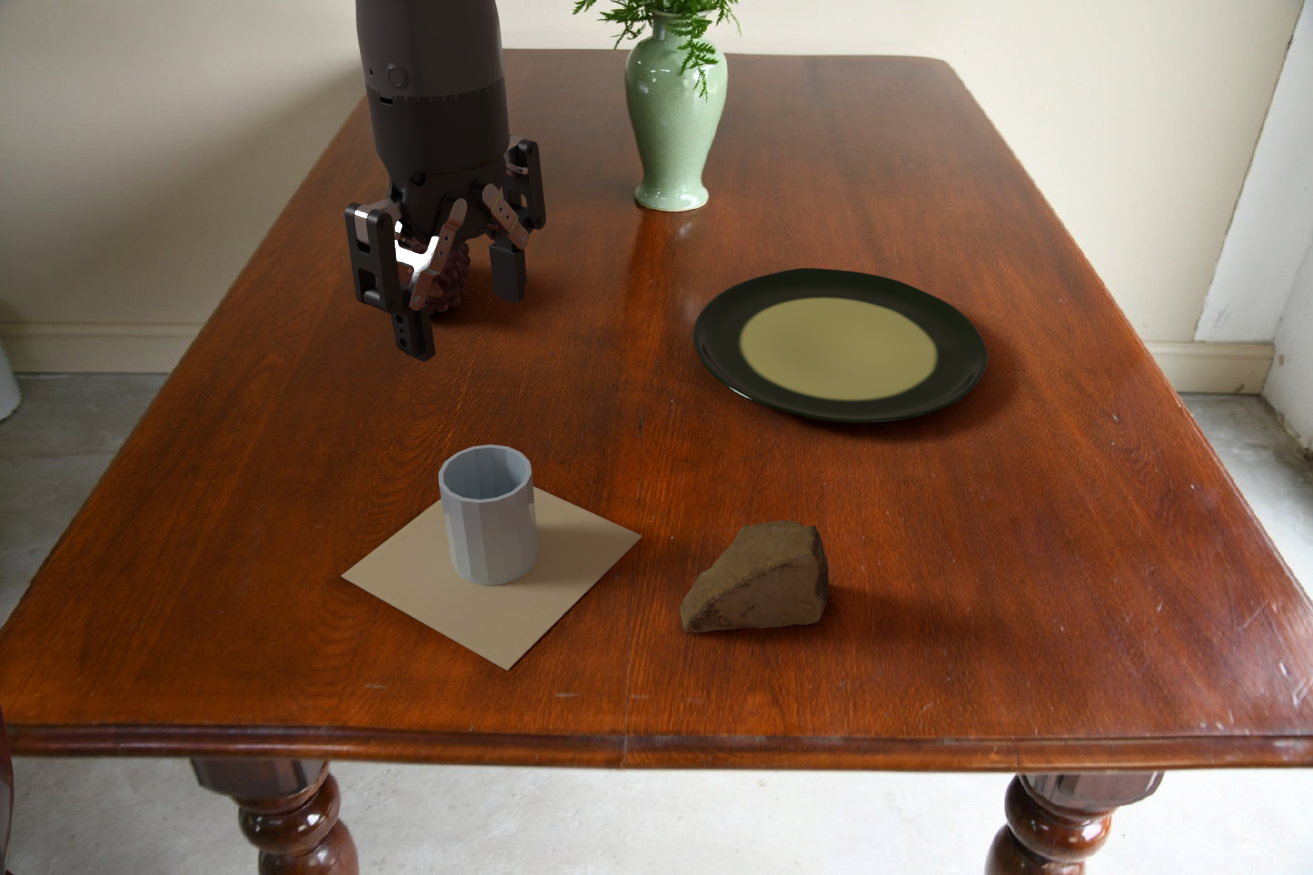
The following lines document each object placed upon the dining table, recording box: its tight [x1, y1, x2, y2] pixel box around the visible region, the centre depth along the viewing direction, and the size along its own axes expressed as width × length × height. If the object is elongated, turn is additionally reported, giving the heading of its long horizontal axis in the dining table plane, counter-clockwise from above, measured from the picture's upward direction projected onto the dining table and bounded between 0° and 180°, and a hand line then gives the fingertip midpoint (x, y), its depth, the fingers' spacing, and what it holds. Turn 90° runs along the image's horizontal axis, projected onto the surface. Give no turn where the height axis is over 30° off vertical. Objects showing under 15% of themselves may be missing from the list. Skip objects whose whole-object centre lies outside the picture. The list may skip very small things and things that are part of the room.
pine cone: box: [375, 237, 472, 315], centre depth 106 cm, size 18×10×10 cm
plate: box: [692, 267, 989, 425], centre depth 99 cm, size 28×28×2 cm
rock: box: [679, 519, 830, 634], centre depth 71 cm, size 11×9×10 cm
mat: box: [340, 485, 643, 672], centre depth 77 cm, size 16×16×1 cm
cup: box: [438, 444, 539, 585], centre depth 75 cm, size 6×6×8 cm
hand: (466, 326), depth 65 cm, fingers open, 8 cm apart
